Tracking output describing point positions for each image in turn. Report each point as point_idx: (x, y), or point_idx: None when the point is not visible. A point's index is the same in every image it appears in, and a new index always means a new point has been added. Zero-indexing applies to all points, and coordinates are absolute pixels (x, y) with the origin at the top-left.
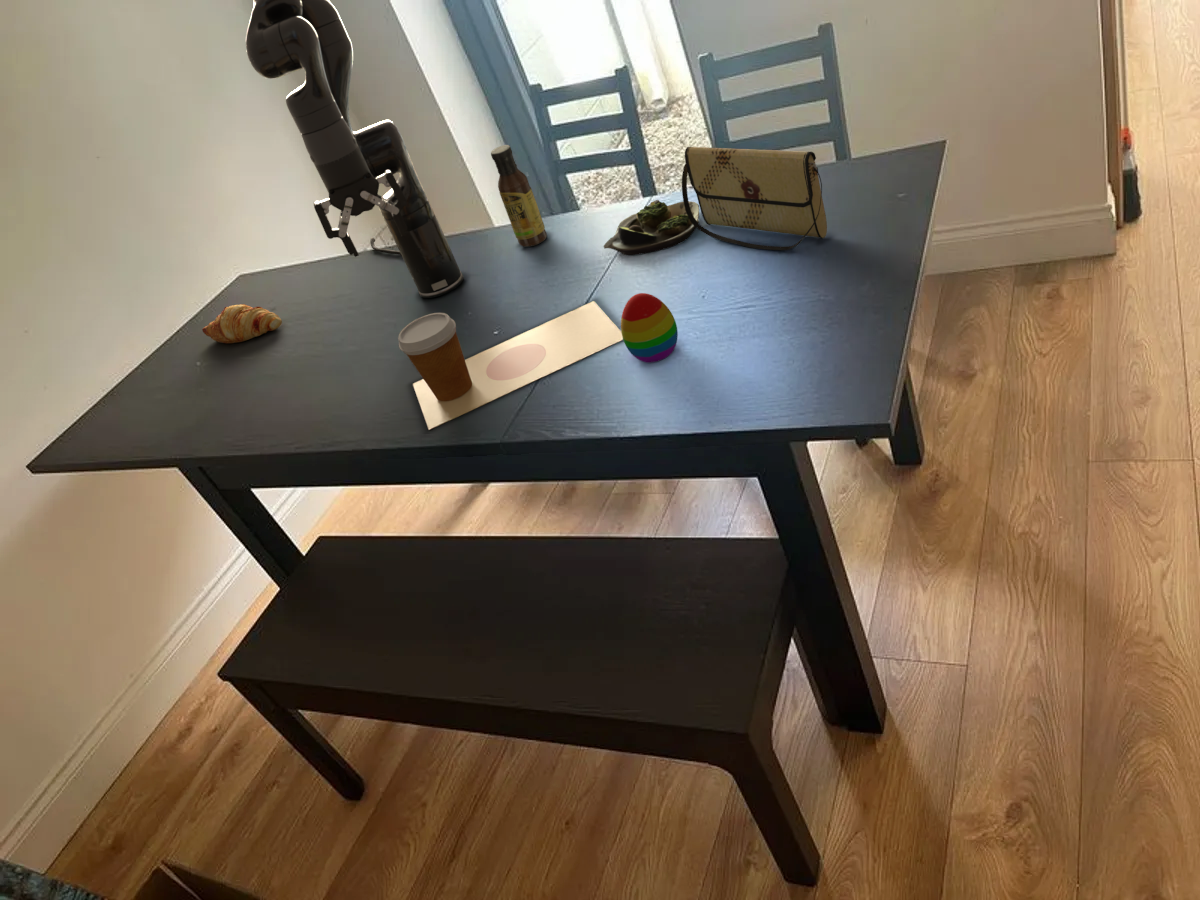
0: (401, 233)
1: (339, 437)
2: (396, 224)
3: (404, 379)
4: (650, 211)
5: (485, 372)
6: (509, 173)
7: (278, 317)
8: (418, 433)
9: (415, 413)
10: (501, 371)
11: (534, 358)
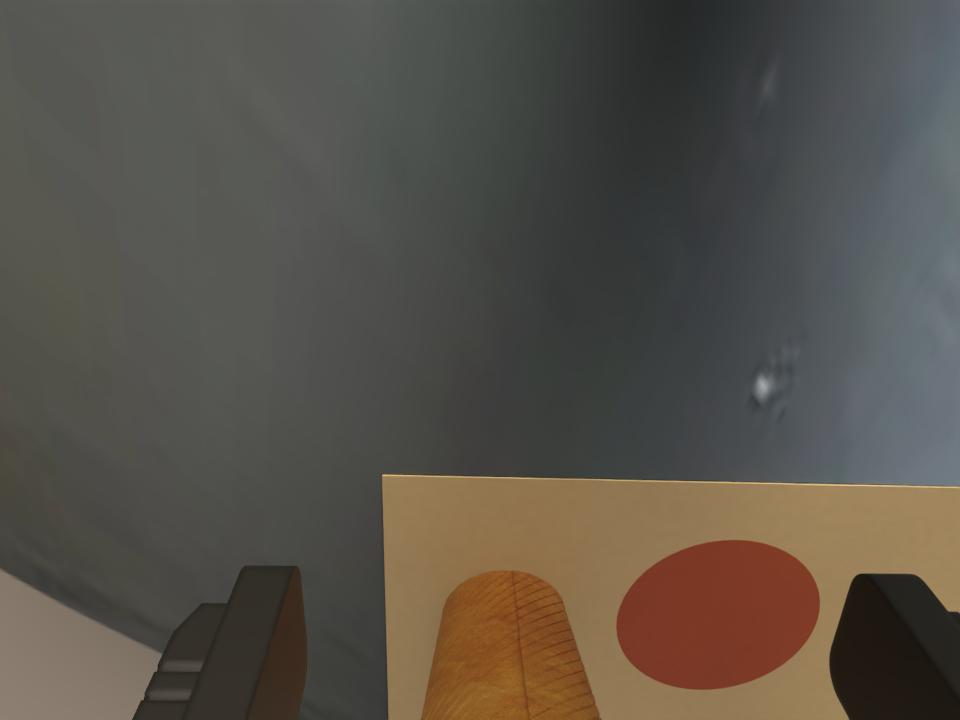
0: (847, 698)
1: (99, 575)
2: (915, 703)
3: (356, 413)
4: None
5: (619, 602)
6: None
7: None
8: (358, 717)
9: (364, 632)
10: (659, 633)
11: (765, 645)
